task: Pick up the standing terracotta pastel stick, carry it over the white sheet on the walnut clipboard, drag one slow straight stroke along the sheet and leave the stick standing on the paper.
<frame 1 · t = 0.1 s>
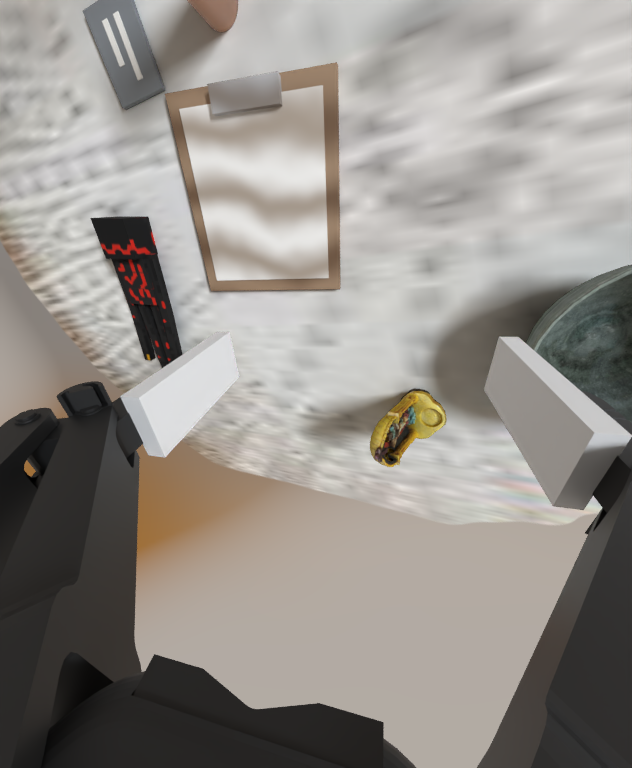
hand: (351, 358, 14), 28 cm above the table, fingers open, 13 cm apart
bowl: (585, 331, 36), on the table
toy: (161, 316, 49), on the table
clipboard: (262, 201, 36), on the table
grey striped tile: (127, 53, 32), on the table
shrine: (406, 403, 47), on the table
pastel stick: (219, 2, 28), on the table
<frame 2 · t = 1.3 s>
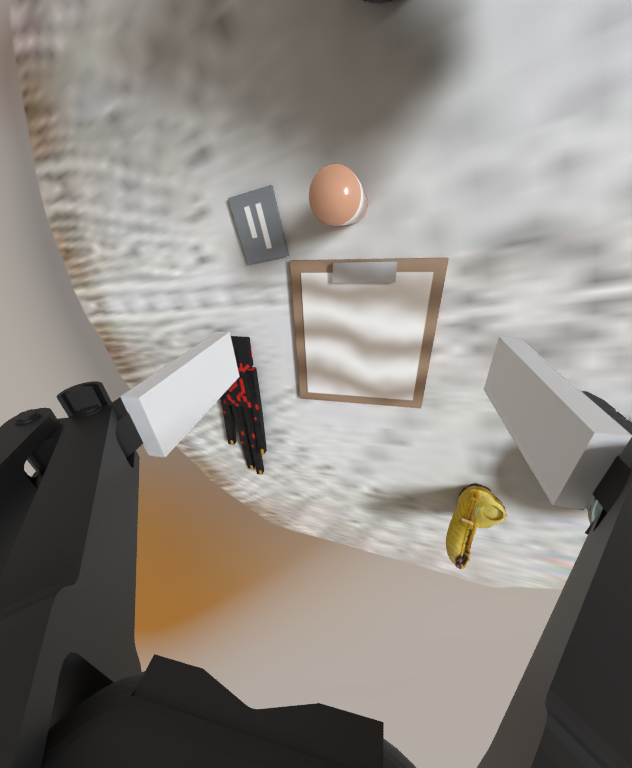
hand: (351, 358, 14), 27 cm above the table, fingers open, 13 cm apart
toy: (246, 408, 54), on the table
clipboard: (361, 339, 42), on the table
grey striped tile: (260, 228, 37), on the table
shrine: (466, 492, 53), on the table
pastel stick: (351, 205, 34), on the table
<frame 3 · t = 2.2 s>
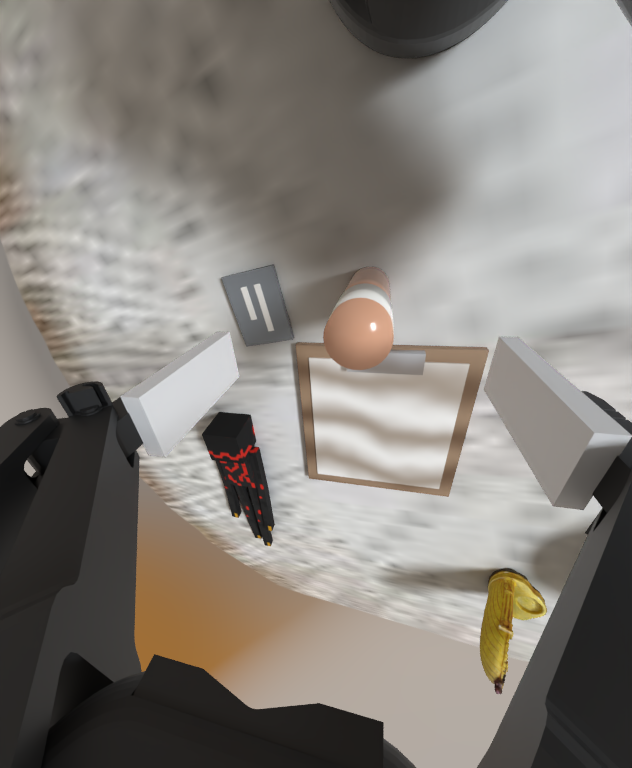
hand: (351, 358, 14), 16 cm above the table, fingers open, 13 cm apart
toy: (251, 480, 49), on the table
clipboard: (379, 424, 36), on the table
grey striped tile: (260, 308, 31), on the table
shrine: (497, 575, 47), on the table
pastel stick: (369, 288, 28), on the table
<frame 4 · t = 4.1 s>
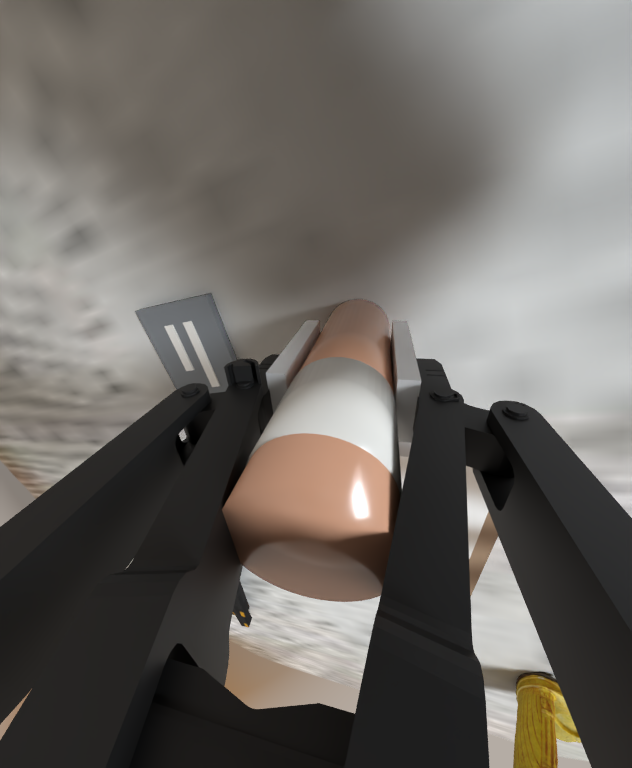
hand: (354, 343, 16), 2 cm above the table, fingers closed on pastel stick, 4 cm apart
toy: (216, 552, 38), on the table
clipboard: (376, 507, 26), on the table
grey striped tile: (198, 353, 21), on the table
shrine: (527, 676, 37), on the table
pastel stick: (357, 331, 18), on the table, touching gripper
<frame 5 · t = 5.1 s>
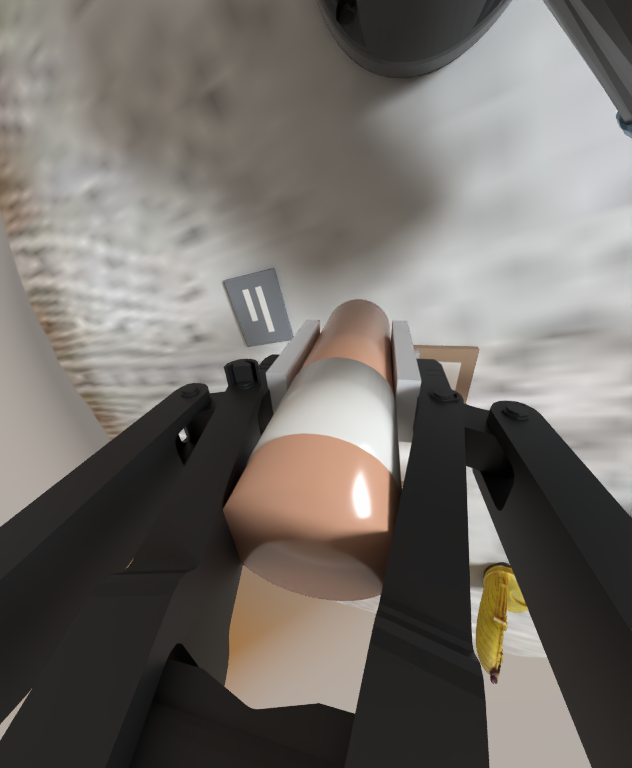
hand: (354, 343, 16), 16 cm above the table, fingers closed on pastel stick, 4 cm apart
clipboard: (376, 421, 37), on the table
grey striped tile: (260, 309, 33), on the table
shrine: (491, 570, 48), on the table
pastel stick: (357, 331, 18), point 13 cm above the table, touching gripper
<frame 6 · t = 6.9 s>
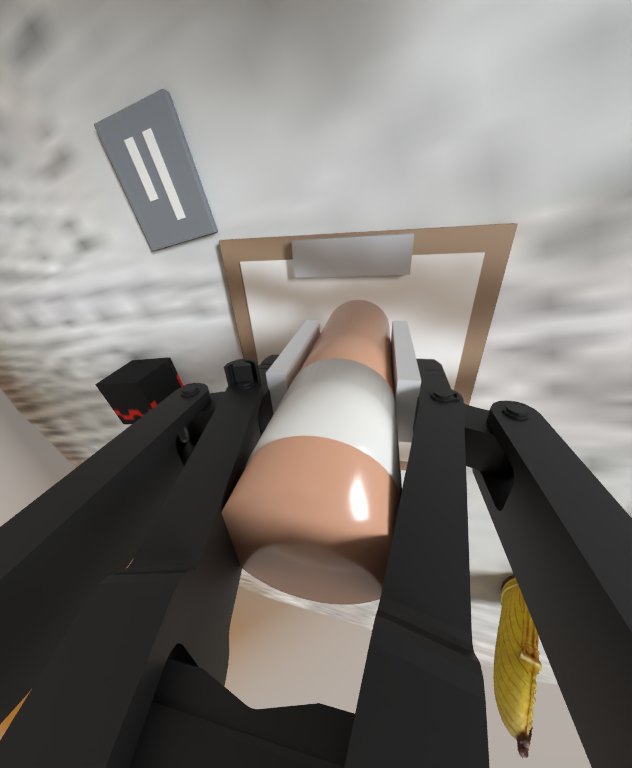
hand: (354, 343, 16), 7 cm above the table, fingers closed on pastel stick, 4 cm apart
toy: (201, 458, 37), on the table
clipboard: (351, 370, 25), on the table
grey striped tile: (162, 181, 20), on the table
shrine: (512, 581, 36), on the table
pastel stick: (357, 331, 18), point 5 cm above the table, touching gripper
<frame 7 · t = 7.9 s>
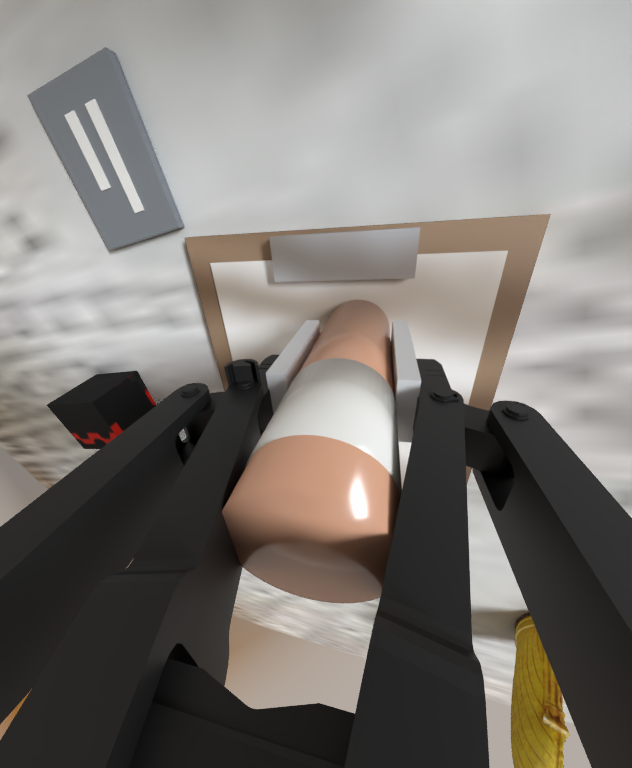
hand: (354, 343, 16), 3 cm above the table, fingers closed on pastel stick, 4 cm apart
toy: (182, 480, 34), on the table
clipboard: (345, 389, 22), on the table
grey striped tile: (115, 166, 17), on the table
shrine: (527, 618, 32), on the table
pastel stick: (357, 331, 18), point 1 cm above the table, touching gripper
when the fingers open (3 cm above the table, at t = 10.8 s): pastel stick stays where it is, resting on clipboard.
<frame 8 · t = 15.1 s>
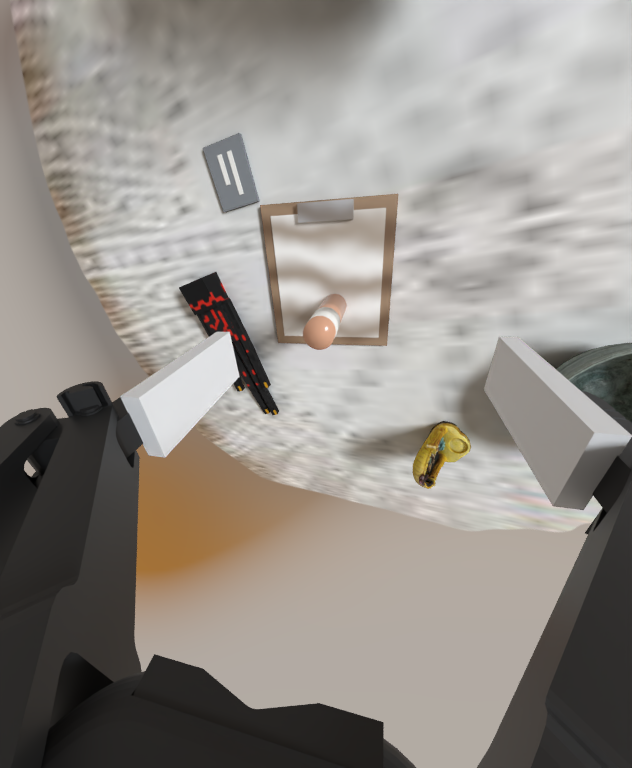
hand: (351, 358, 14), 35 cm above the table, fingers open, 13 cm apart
bowl: (583, 382, 46), on the table
toy: (241, 350, 57), on the table
clipboard: (329, 279, 46), on the table
grey striped tile: (232, 175, 41), on the table
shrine: (436, 432, 57), on the table
pastel stick: (334, 305, 47), point 1 cm above the table, touching clipboard
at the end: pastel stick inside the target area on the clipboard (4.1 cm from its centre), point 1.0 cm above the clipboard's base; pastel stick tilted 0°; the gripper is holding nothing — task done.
